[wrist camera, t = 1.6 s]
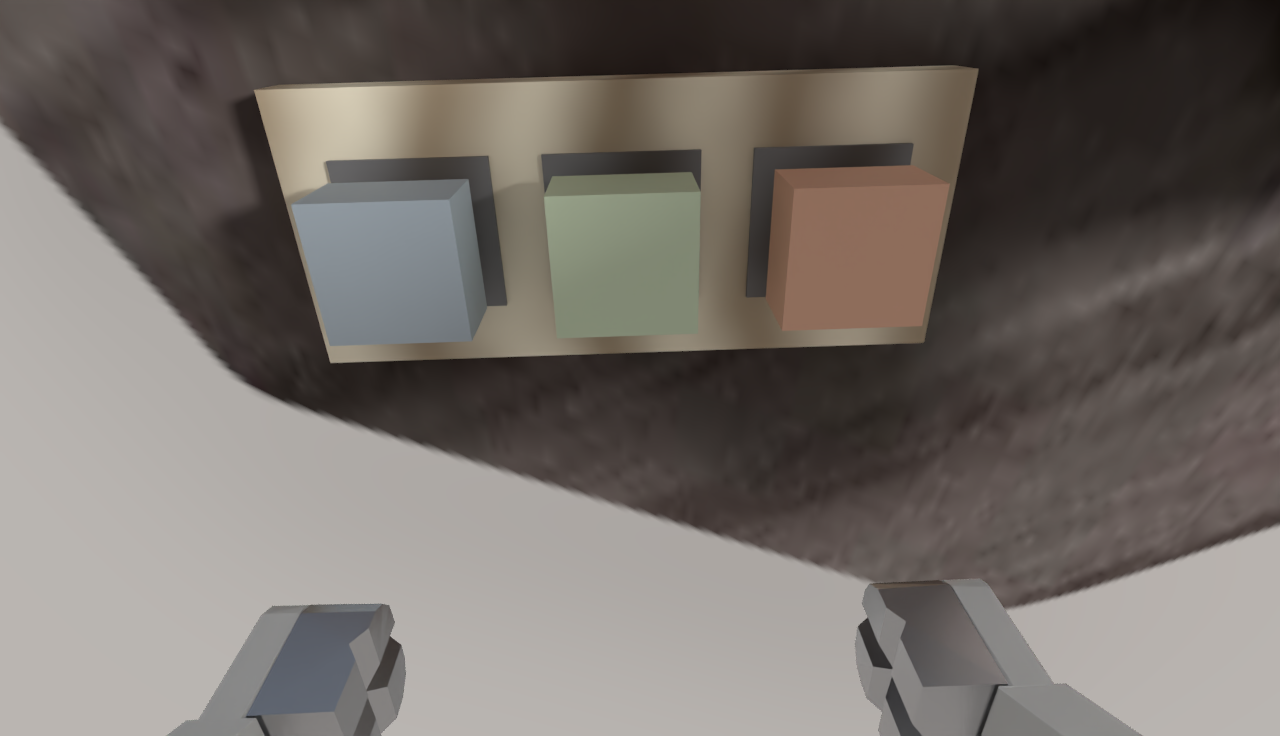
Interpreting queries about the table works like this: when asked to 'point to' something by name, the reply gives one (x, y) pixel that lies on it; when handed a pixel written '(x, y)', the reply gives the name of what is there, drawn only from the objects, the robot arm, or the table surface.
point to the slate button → (393, 261)
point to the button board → (620, 144)
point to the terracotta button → (853, 246)
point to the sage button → (624, 254)
